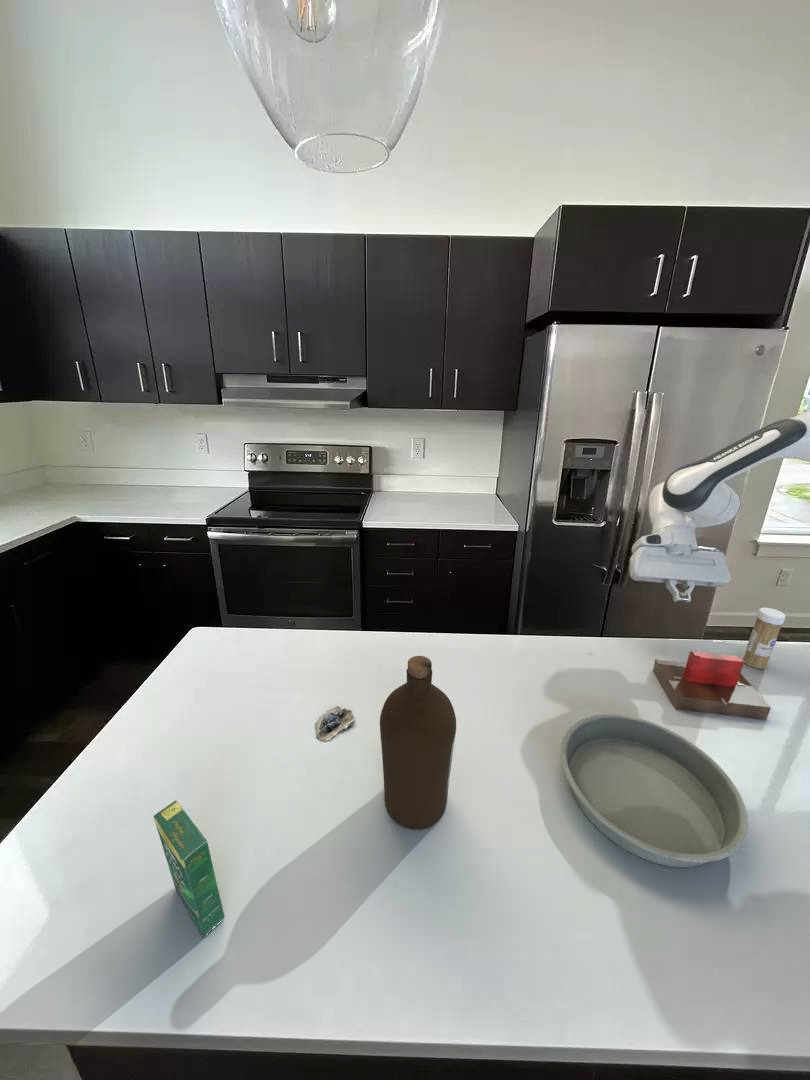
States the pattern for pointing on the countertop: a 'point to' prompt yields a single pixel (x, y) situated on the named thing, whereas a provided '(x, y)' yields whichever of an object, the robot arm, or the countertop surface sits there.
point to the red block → (713, 669)
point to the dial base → (709, 694)
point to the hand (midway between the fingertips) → (682, 601)
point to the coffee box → (190, 866)
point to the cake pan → (653, 791)
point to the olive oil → (417, 748)
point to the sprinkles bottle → (763, 637)
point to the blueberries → (333, 723)
